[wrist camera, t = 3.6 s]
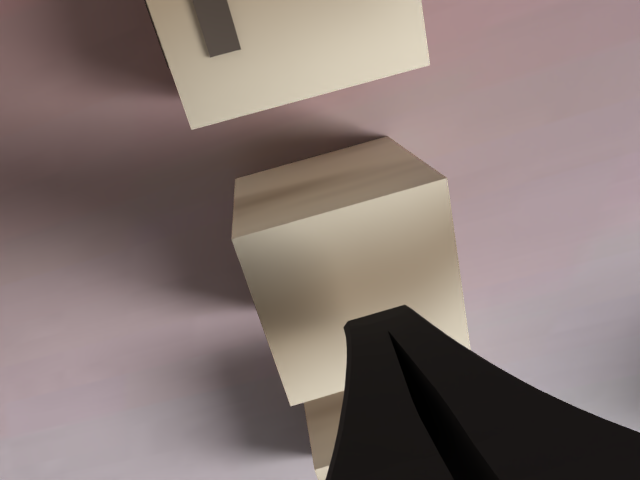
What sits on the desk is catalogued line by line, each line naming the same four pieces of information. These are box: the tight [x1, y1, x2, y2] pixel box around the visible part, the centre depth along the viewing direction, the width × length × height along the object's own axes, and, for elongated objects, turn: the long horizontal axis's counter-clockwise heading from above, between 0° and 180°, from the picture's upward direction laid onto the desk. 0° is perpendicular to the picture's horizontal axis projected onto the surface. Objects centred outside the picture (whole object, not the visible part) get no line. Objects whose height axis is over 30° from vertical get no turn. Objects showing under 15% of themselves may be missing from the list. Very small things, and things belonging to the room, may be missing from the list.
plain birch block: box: [231, 136, 470, 406], centre depth 14 cm, size 5×5×5 cm
